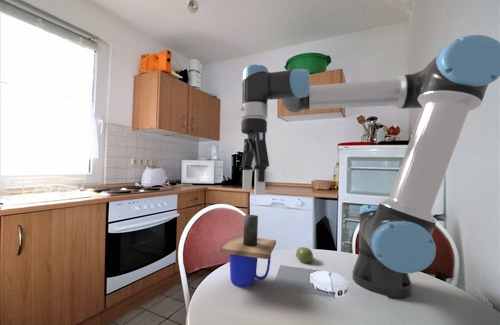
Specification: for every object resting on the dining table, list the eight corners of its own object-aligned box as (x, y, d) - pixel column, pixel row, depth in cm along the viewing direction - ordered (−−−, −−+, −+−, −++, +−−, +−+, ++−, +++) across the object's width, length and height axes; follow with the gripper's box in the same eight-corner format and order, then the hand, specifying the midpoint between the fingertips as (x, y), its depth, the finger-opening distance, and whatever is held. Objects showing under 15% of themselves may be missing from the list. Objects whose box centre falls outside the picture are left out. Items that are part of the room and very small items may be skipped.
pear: (299, 248, 80) (293, 244, 90) (299, 265, 79) (293, 259, 89) (314, 249, 80) (307, 245, 90) (315, 265, 79) (307, 259, 89)
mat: (329, 273, 74) (329, 271, 74) (334, 299, 58) (334, 297, 59) (280, 266, 78) (280, 265, 78) (272, 289, 63) (272, 287, 63)
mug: (268, 293, 60) (269, 255, 61) (224, 287, 63) (225, 250, 63) (271, 279, 68) (272, 245, 69) (232, 274, 71) (233, 242, 71)
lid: (275, 244, 70) (276, 214, 71) (268, 259, 58) (269, 222, 58) (235, 239, 74) (236, 210, 74) (220, 253, 61) (221, 218, 62)
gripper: (233, 126, 78) (232, 188, 77) (253, 107, 54) (251, 196, 53) (254, 128, 80) (253, 189, 79) (283, 110, 56) (281, 196, 55)
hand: (252, 192), depth 66 cm, fingers open, 13 cm apart
